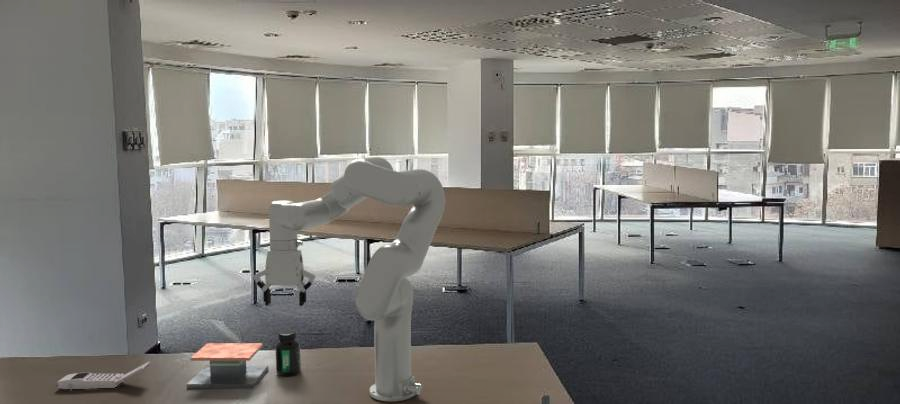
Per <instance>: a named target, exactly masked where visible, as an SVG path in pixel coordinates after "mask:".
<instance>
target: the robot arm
mask: <svg viewBox="0 0 900 404" xmlns="http://www.w3.org/2000/svg"><path fill="white" fill-rule="evenodd" d="M366 199H370V200H373V201H377V202H379V203H382V204H385V205H388V206H391V207H394V208H395V207H396V208H403V207H408V206H411V208H410V209H409V211H408V213H407V215H406V216H405V217H404V219H403V221H402V224H401V226H400V229H399V231H398V233H397V236H396V237H395V239H394V240H393V241H392V242H390V243H387V244H384V245H382V246H380V247H379V248H378V249H376V250H375V252H374V253H372V256H371V257H370V260H369V262H368V264H367V265H366V269H365V272H364V274H363V277H362V279H361V281H360V284H359V286H358V290H357V292H356V297H355V304H356V309H357V311H358V313H359V314H360V315H361V317H363V318H364V319H366V320H368V321H372V322H373V321H374V327H373V329H374V330H373V331H374V332H373V333H374V336H373V338H374V339H373V340H374V341H373V343H374V344H373V345H374V381H375V383H374V384H372V385H371V386H370V387H369V396H371V398H373V399H374V400H378V401H380V402H381V401H382V402H388V403H389V402H390V403H392V402H393V403H394V402H401V401H405V400H409V399H411V398H413V397H415V396H416V395H417V396H419V395H420V394H421V392H422V389H423V384H422V383H417V382H416V381H415V380H416V379H415V378H416V377H415V376H414V375H412V340H411V339H412V337H411V336H412V332H411V331H412V328H411V326H412V310H413V304H414V289H413V285H412V283H411V281H410V280H409V279H408V278H409V277H412V276H413V275H415V274H416V273H418V272H419V271H420V269H421V268H422V266H423V264H424V261H425V259H426V256H427V254H428V251H429V248H430V247H431V244H432V241H433V239H434V236H435V234H436V231H437V229H438V226H439V224H440V222H441V220H442V217H443V214H444V211H445V207H446V206H445V205H446V193H445V190H444V187H443V185H442V183H441V181H440V179H439V178H438V177H437V176H436V174H434V173H432V172H431V171H429V170H426V169H420V168H418V169H417V168H416V169H409V170H403V171H396V170H394V167H393V166H392V164H391V163H390V162H389V161H388V160H387V159H385V158H383V157H380V156H379V157H377V156H373V157H372V156H371V157H362V158H356V159H354V160H352V161H350V163H349V164H348V165H347V166H346V168H345V170H344V173H343V174H342V175H340V176H337V178H335V179H334V180H333V181H332V183H331V190H330V191H329V192H328V193H326V194H324V195H323V196H321V197H319V198H317V199H313V200H307V201H306V200H305V201H302V202H295V201H293V200H287V199H286V200H284V199H283V200H281V199H279V200H273V201H271V202H269V206H268V221H269V222H268V223H269V226H268V227H269V249H268V250H267V251H266V259H265V269H263V270H262V271H259V272H257V273H255V274H254V275H253V280H254V281H255V282H256V285H257V287H258V288H260V290H261V291H262V292H263V293H262V294H263V295H262V296H263V302H264V303H265V306H266V307H267V306H269V305H271V303H272V297H271V296H272V292H271V291H272V290H271V289H270V287H271V286H284V287H285V286H290V287H291V286H292V287H293V286H296V287H297V288H298V289H299V293H298V297H299V300H298V301H299V303H298V304H299V306H300V307H302V306H304V305H305V304H306V302H307V291H308V289H309V288H310V287H311V286H312V285H313V283H314V281H315V279H316V277H317V276H316V275H315V274H314V273H311V272H310V271H308V270H305V268H304V260H303V255H302V254H303V253H302V250H301V248H299V247H300V246H303V245H304V243H303V240H300V239H299V237H298V232H299V231H306V230H310V229H313V228H319V227H323V226H326V225H327V224H329V223H331V222H333V221H334V220H336V219H338V218H340V217H341V216H343V215H345V214H346V213H347V212H349V211H350V210H351V209H352V208H353V207H354V206H355V205H357V204H359V203H361V202H363V201H364V200H366ZM263 276H264V280H265V282H264V281H263V280H262V279H261V277H263ZM305 277H306V278H308V280H307V282H306V284H305V282H304V280H305Z"/></svg>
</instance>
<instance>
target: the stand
mask: <svg viewBox="0 0 900 404" xmlns="http://www.w3.org/2000/svg"><path fill="white" fill-rule="evenodd" d="M263 346H264V343H262V342H260V343H259V342H255V343H253V342H252V343H251V342H250V343H249V342H248V343H247V342H243V343H242V342H235V343H233V342H230V343H229V342H225V343H224V342H217V343H215V342H214V343H213V342H209V343H206V344H205V345H203V346H202V347H201V348H200V349H199V350H198V351H197V352H196V353H194V354H193V355H191V356H190V359H189V360H190V361H191V362H192V361H198V362H200V361H203V362H204V361H205V362H207V361H208V362H209V365H205V366H204V367H203V368H202V369H201V370H200V371H199V372H198V373H197V374H196V375H195V376H193V378H191V379H190V380H189V381H188V382H187V383H186V389H222V390H223V389H229V390H230V389H237V390H239V389H244V390H245V389H249V390H251V389H254V388H255V387H256V386H257V384H258V383H259V382H260V380H261V379H262V378H263V377H264V376H265V374H266V373H267V372H268V371H269V365H247V362H250V361H251V360H252V358H253V357H255V355H256V354H257V353H258V352H260V350H261V349H262V347H263Z"/></svg>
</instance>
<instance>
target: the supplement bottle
mask: <svg viewBox="0 0 900 404" xmlns="http://www.w3.org/2000/svg"><path fill="white" fill-rule="evenodd" d="M274 348H275V349H274V350H275V370H276V371H275V373H276V375H277V376H278V377H281V378H292V377H295V376H298V375H300V373H301V371H302V369H301V368H302V365H301V364H302V363H301V361H302V360H301V343H300V342H299V340H297V331H296V330H293V329H286V330H281V331H279V332H278V341H277V342H276V343H275V347H274Z"/></svg>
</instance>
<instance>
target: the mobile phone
mask: <svg viewBox="0 0 900 404" xmlns="http://www.w3.org/2000/svg"><path fill="white" fill-rule="evenodd" d="M150 364H151V360H150V361H146V362H145V363H143V364H140V365H139V366H138V367H136V368H134V369H132V370H130V371H128V372H127V373H92V372H78V373H77V372H76V373H75V372H74V373H70V374H67V375H65V376H64V377H62V378H61V379H60V380H57V388H58V389H61V390H67V389H80V388H83V389H84V388H87V389H86V390H89V389H88V388H115V387H117V386H118V385H119V384H120V383H121V382H122V383H123V382H124V380H126V379H128V378H129V377H131V376H133V375H136V374H138V373H139V372H141V371H142V370H144V369H146V368H147V367H148V366H149V365H150ZM122 383H121V384H122ZM121 384H120V385H121ZM120 385H119V386H120ZM119 386H118V387H119ZM118 387H117V388H118ZM115 389H116V388H115Z"/></svg>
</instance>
